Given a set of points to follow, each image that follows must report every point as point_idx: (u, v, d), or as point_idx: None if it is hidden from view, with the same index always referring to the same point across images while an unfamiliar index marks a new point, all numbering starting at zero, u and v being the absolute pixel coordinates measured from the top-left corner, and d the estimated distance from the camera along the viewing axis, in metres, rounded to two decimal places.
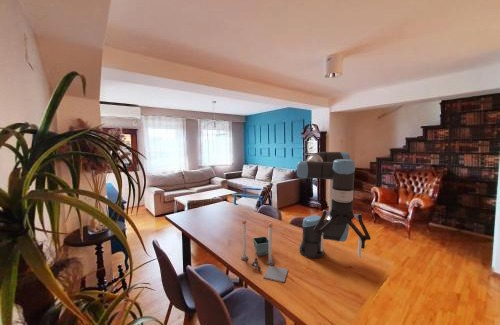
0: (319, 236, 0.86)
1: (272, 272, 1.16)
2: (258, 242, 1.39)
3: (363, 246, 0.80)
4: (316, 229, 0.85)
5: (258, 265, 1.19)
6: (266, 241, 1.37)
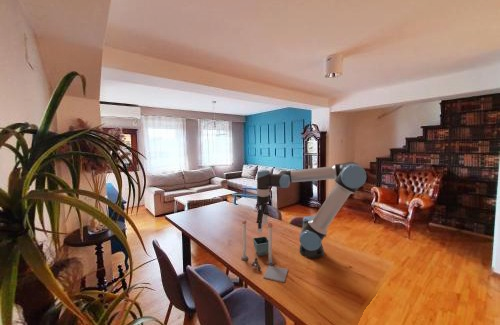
0: None
1: (272, 272, 1.16)
2: (258, 242, 1.39)
3: None
4: None
5: (258, 265, 1.19)
6: (266, 241, 1.37)
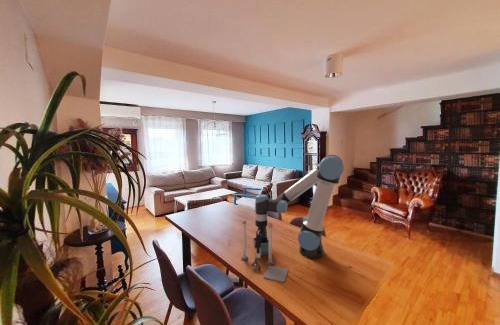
0: None
1: (272, 272, 1.16)
2: None
3: None
4: None
5: (258, 265, 1.19)
6: (266, 241, 1.37)
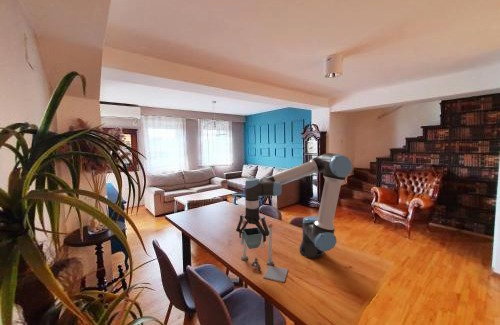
0: (240, 234, 1.20)
1: (272, 272, 1.16)
2: None
3: (264, 240, 1.15)
4: (237, 229, 1.19)
5: (258, 265, 1.19)
6: (249, 231, 1.22)
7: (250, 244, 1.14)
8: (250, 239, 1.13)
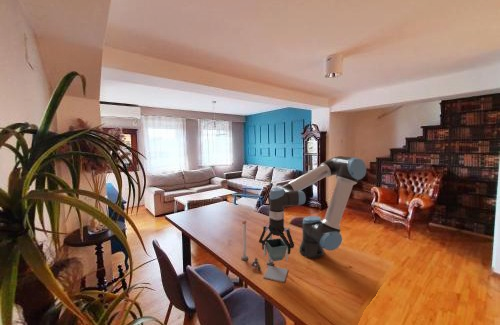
0: (263, 245, 1.16)
1: (272, 272, 1.16)
2: None
3: (289, 252, 1.11)
4: (260, 240, 1.15)
5: (258, 265, 1.19)
6: (272, 242, 1.17)
7: (274, 256, 1.10)
8: (275, 251, 1.09)
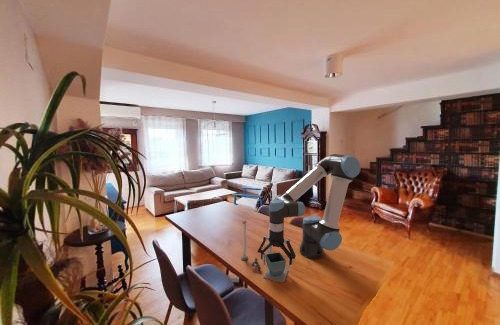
0: (261, 255, 1.17)
1: None
2: None
3: (290, 263, 1.11)
4: (259, 250, 1.16)
5: (258, 265, 1.19)
6: (271, 256, 1.19)
7: (274, 271, 1.11)
8: (274, 266, 1.11)
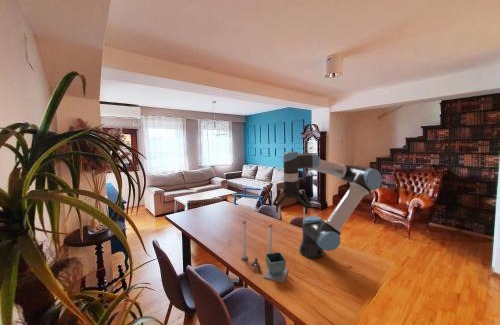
0: (277, 208, 1.18)
1: None
2: None
3: (306, 212, 1.13)
4: (274, 203, 1.18)
5: (258, 265, 1.19)
6: (271, 256, 1.19)
7: (274, 271, 1.11)
8: (274, 266, 1.11)
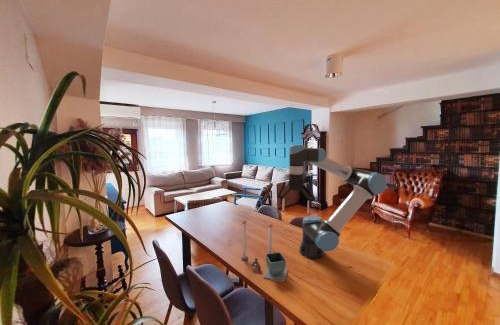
0: (281, 200, 1.20)
1: None
2: None
3: (310, 205, 1.14)
4: (279, 195, 1.19)
5: (258, 265, 1.19)
6: (271, 256, 1.19)
7: (274, 271, 1.11)
8: (274, 266, 1.11)
